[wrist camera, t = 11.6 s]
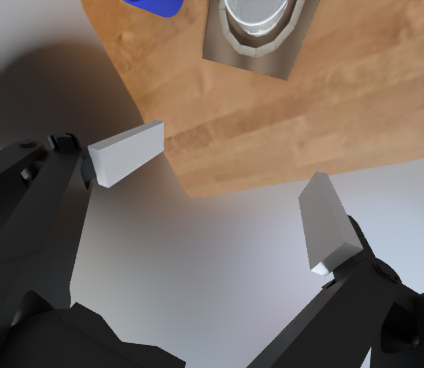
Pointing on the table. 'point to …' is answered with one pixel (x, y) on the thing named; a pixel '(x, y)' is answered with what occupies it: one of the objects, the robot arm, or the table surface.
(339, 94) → the table surface
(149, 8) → the mug
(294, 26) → the brown flat ringed piece
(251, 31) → the white cup
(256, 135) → the table surface
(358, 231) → the robot arm
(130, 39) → the table surface
